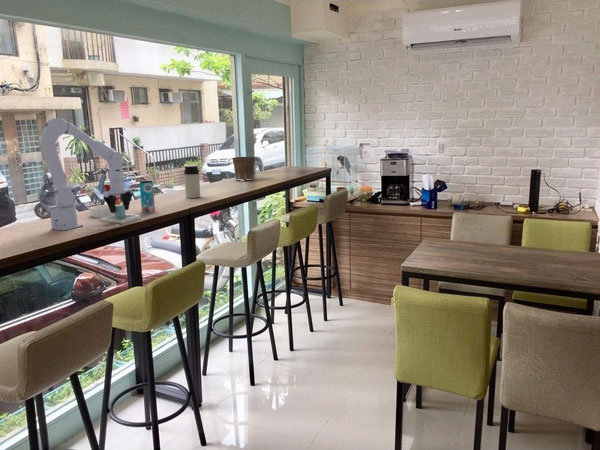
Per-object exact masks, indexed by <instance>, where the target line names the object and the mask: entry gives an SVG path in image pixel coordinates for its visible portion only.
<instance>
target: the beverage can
mask: <svg viewBox="0 0 600 450" xmlns="http://www.w3.org/2000/svg"><path fill="white" fill-rule="evenodd" d="M154 191H155V190H154V183H153V180H140V181H139V193H140V205H141V212H142V213H144V214H145V213H146V214H147V213H154V212H156V206H155V195H154Z"/></svg>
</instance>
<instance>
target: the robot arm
mask: <svg viewBox="0 0 600 450" xmlns="http://www.w3.org/2000/svg"><path fill="white" fill-rule="evenodd" d="M62 135H69V136H73V137H75V138H76V139H78V140H79V141H81V142H82V143H84V144H85V145H87V146H89V147H90V150H91V152H92V153H93V154H95V155H97V156H98V157H100V158H101V159H103V160H104V161H106V162H107V164H108V176H109V181H110V188H111V190H110V191H107V192H105V191H103V193H102V196H103V200H104V202H105V203H106V205H108V207H109V209H110V212H111V213H115V211H116V209H115V203H116V197H114V195H119V194H120V199H121V201H122V205H125V211H128V210H129V209H130V208H129V207H130V202H131V200H132V198H133V195H134V194H133V188H132V187H125V178H124V169H123V168H124V166H123V165H124V164H123V163H124V161H125V158H124V156H123V154H121V152H118V151H116V149H115V148H114V147H113V148H112V147H111V146H109V145H108V144H106V141H105V140H103V139H102V140H100V139H95V138H92V137H91V136H90V135H89V134H87V133H85V132H84V131H83V130H82V129H80V128H78V126H76V125H74V124H73V123H70V122H69V121H66V120H65V119H64V118H61V117H53V118H50V119H49V120H48V121H47V122H46V123H45V124H44V126H43V129H42V134H41V136H40V139H39V142H40V145H41V148H42V151H43V154H44V157H45V161H46V165H47V166H48V169H49V173H50V176H51V179H52V183H53V188H54V192H55V194H54V199H55V201H56V202H57V203H56V205H55V208H53V209H51V210H50V215H49V216H50V223H51V227H50V230H57V231H68V230H72V229H75V228H79V227H83V224H78V223H79V222H78V214H77V208H76V207H77V206H76V203H75V202H76V195H75V194H74V193H73V191H72V190H71V189H70V186H69V183H68V181H67V178H66V175H65V172H64V168H63V166H62V163H61V159H60V156H59V153H58V151H57V148H56V147H57V146H56V142H57V141H58V140H59V138H60V137H61V136H62ZM116 193H117V194H116Z"/></svg>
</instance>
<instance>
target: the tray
mask: <svg viewBox="0 0 600 450" xmlns="http://www.w3.org/2000/svg"><path fill="white" fill-rule="evenodd" d="M125 215H126V219H122V220H116V219H115V215H112V216H108V217H102V218H99V221H100V222H105V223H106V222H107V223H108V222H109V223H116V224H118V225H125V224H128V223H129V224H130V223H131V222H136V221H140V220H142V215H141V214H130V213H129V214H128V213H125Z"/></svg>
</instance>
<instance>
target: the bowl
mask: <svg viewBox="0 0 600 450" xmlns="http://www.w3.org/2000/svg"><path fill="white" fill-rule="evenodd" d="M115 206H116V204H115ZM90 214H91V215H90V216H91V217H92V218H99V219H100V218H104V217H108V216H112V215H115V213H111V212H110V209H109V207H108V205H107V204H99V205H93V206H91V207H90Z"/></svg>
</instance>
